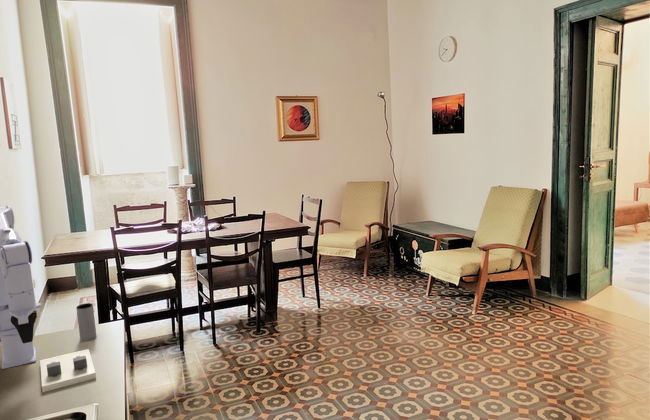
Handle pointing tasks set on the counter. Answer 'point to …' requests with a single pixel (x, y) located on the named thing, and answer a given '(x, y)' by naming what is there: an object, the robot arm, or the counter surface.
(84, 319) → the planter
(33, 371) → the counter surface
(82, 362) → the block
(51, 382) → the panel
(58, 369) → the block
